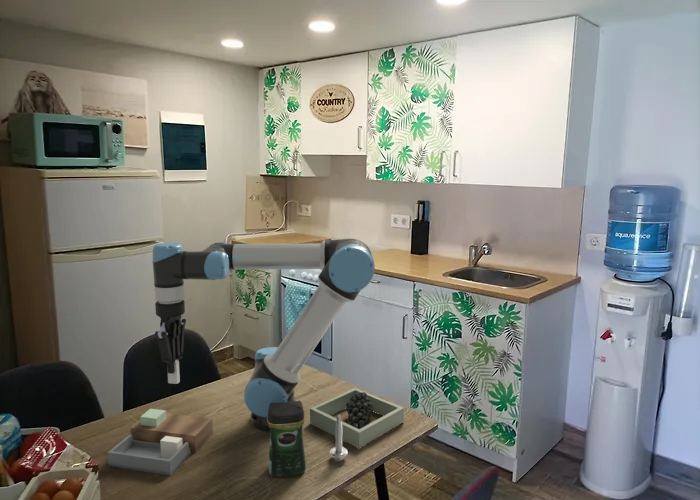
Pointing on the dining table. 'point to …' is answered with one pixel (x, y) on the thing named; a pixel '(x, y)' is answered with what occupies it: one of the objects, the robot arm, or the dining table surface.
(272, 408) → the coffee jar
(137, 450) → the tray
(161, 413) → the sage tile
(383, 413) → the fruit crate
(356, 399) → the fruit
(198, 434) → the walnut riser
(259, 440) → the dining table surface
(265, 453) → the dining table surface
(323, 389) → the dining table surface
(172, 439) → the cream tile
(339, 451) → the screw
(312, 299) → the robot arm
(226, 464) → the dining table surface
